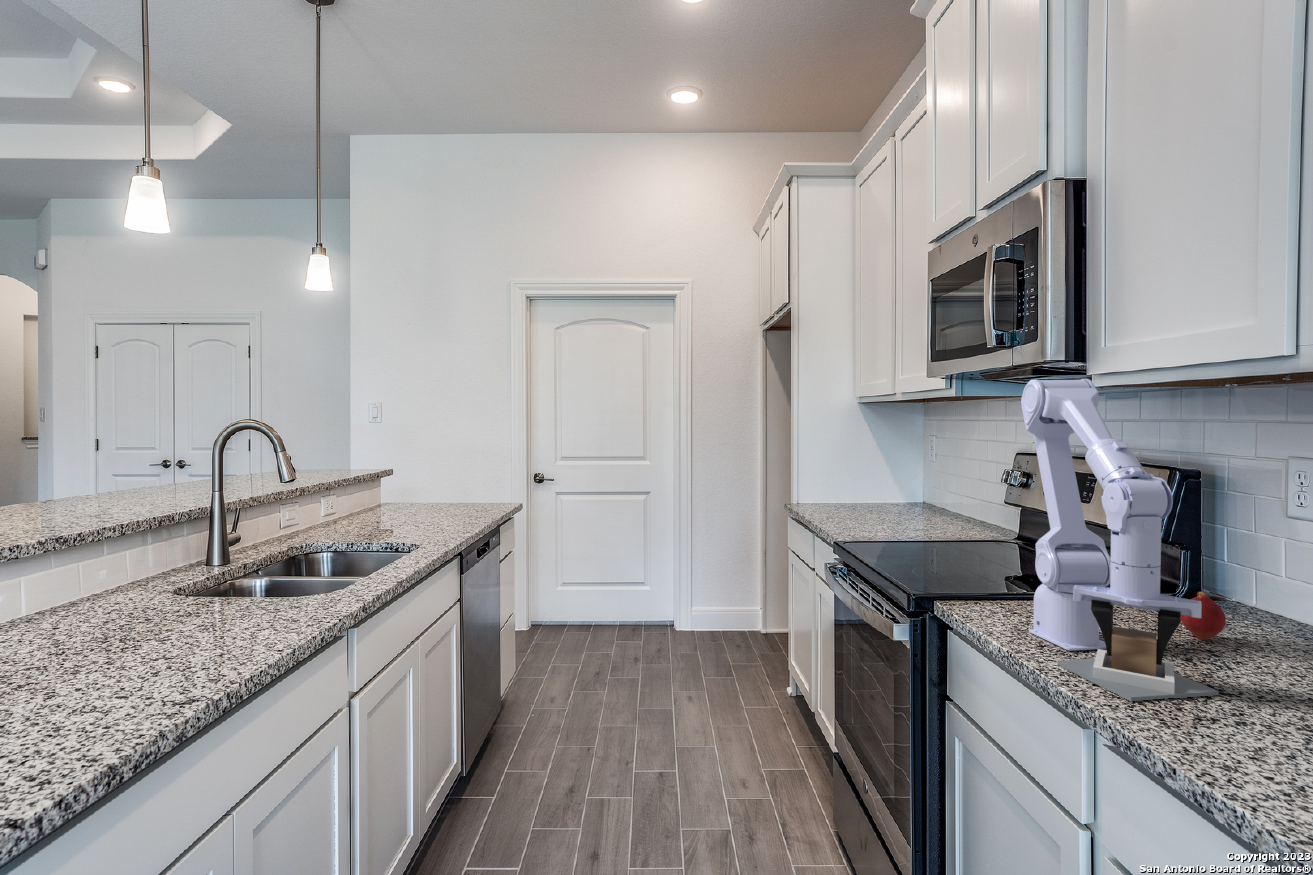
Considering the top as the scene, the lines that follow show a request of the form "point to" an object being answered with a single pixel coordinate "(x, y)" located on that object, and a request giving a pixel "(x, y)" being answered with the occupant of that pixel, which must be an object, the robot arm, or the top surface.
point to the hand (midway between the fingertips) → (1133, 658)
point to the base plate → (1137, 691)
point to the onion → (1205, 619)
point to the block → (1134, 651)
